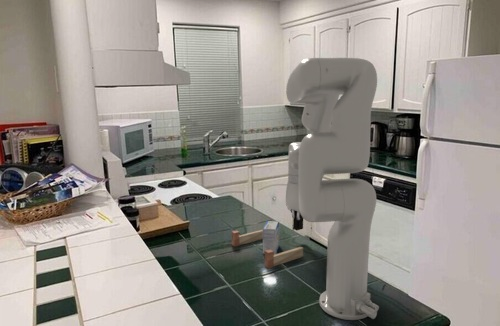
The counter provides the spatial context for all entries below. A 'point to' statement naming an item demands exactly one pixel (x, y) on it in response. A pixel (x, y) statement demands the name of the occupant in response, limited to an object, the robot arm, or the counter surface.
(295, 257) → the channel
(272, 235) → the medicine box
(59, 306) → the counter surface
